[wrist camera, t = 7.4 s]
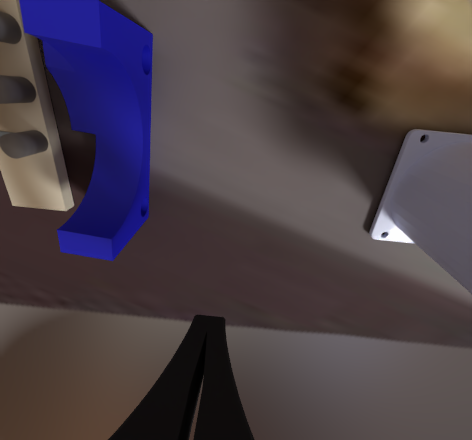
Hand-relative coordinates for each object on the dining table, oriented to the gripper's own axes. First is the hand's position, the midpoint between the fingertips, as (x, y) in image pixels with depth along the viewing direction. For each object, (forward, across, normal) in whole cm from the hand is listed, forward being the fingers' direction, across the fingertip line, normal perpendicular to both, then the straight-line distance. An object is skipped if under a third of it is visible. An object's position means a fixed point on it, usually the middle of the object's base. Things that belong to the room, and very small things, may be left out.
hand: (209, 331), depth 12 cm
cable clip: (+10, +8, -7) cm, 14 cm away
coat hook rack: (+9, +14, -9) cm, 19 cm away
